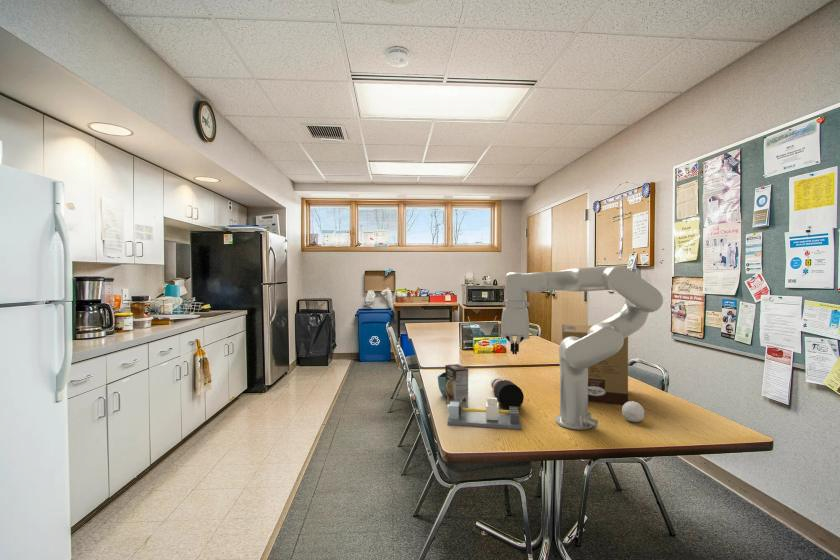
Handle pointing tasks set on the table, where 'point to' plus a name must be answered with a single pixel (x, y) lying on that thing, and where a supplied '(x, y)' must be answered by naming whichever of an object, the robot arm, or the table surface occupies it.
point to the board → (480, 420)
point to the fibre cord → (483, 410)
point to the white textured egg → (633, 411)
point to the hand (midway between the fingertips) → (514, 353)
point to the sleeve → (492, 409)
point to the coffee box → (456, 384)
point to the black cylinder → (507, 393)
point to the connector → (454, 410)
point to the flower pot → (442, 383)
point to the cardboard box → (604, 371)
